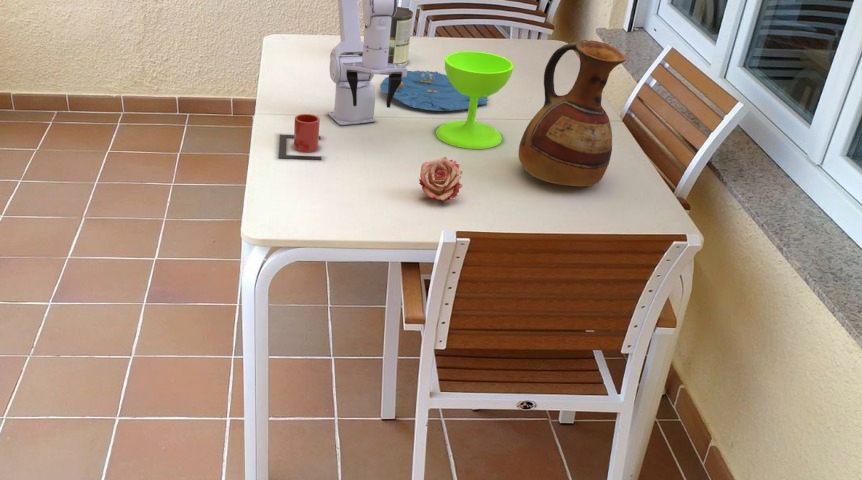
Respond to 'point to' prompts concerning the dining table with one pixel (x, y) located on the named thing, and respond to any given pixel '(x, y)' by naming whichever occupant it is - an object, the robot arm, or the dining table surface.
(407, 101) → the decorative plate
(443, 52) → the dining table surface
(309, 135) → the tumbler
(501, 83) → the wineglass
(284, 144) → the tape bay
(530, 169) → the ceramic pitcher
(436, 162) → the flower
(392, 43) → the coffee can
